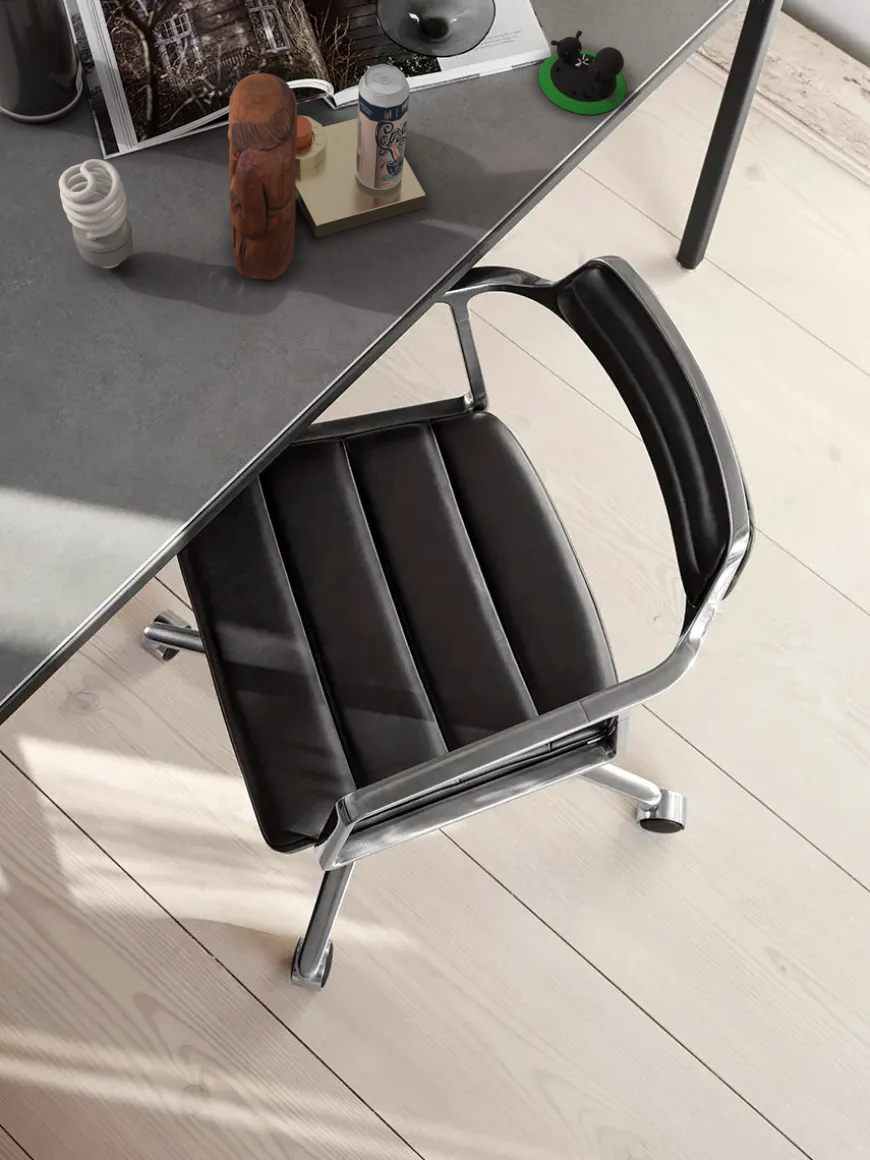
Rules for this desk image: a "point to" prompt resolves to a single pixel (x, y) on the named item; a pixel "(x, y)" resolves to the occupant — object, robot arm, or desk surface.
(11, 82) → the robot arm
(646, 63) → the desk surface
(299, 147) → the button
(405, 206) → the scale
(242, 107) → the wooden figurine
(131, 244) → the light bulb
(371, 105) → the beer can
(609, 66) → the toy figurine
